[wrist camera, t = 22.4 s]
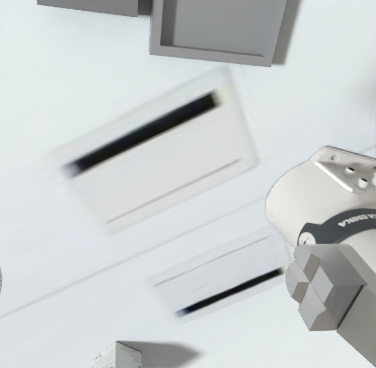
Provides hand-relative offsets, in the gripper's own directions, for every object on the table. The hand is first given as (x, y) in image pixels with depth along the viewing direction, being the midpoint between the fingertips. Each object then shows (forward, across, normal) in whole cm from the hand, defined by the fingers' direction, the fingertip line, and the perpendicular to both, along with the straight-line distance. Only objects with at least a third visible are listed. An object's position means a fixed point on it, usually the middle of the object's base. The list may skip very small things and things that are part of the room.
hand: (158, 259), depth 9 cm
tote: (+32, +8, +8) cm, 34 cm away
